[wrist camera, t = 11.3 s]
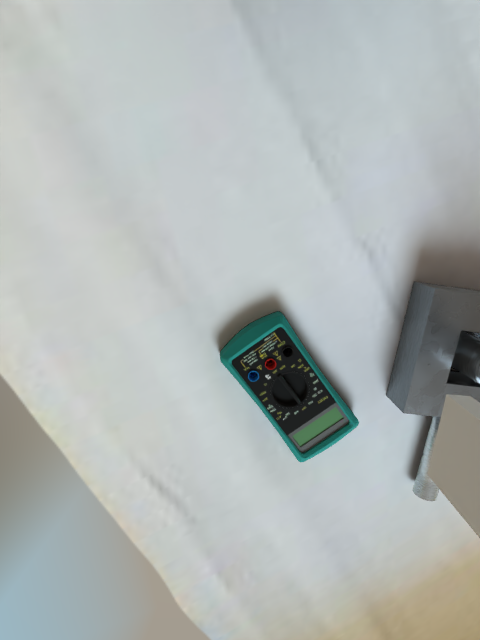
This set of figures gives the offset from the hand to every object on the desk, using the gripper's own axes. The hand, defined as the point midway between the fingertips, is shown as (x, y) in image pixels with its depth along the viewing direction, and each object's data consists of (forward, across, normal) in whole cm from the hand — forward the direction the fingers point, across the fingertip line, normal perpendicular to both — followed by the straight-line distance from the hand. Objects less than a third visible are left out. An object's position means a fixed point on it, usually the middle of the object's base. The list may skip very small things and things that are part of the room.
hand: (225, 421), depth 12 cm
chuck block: (+28, +25, -10) cm, 39 cm away
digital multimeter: (+29, +8, -10) cm, 32 cm away
